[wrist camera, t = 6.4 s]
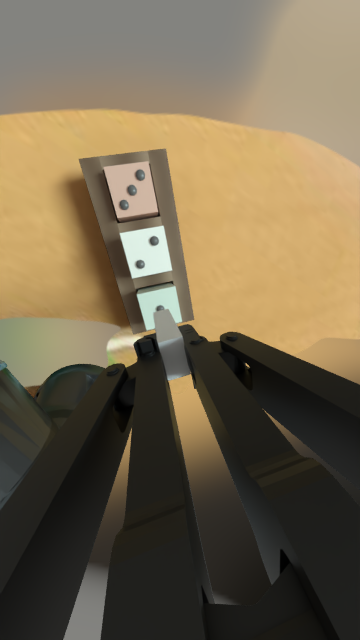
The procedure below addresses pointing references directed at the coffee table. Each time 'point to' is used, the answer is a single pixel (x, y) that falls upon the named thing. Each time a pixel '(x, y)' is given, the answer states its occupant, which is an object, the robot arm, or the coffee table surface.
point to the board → (113, 228)
